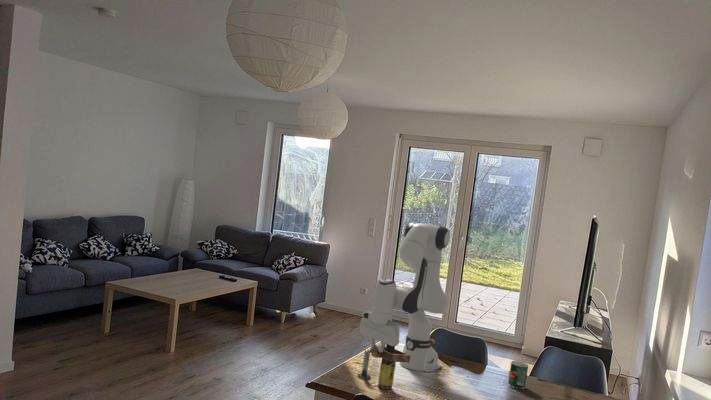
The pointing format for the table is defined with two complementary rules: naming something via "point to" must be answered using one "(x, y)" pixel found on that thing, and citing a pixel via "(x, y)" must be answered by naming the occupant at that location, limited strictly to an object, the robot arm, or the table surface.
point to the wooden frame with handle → (390, 355)
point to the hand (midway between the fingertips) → (376, 350)
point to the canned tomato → (518, 374)
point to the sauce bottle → (387, 371)
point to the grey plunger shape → (365, 366)
